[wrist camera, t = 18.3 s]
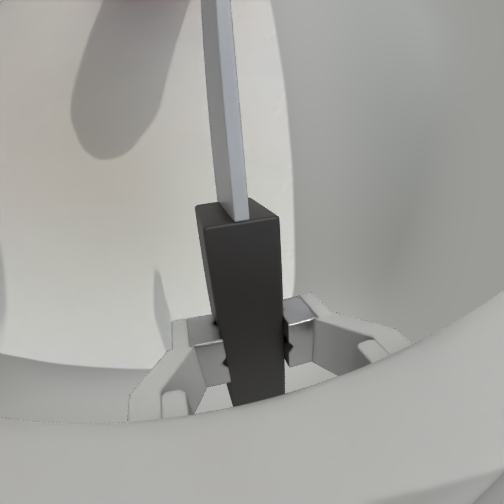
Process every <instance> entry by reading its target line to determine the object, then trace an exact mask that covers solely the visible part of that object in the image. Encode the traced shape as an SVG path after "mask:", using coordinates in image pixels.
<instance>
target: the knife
mask: <svg viewBox="0 0 504 504" xmlns="http://www.w3.org/2000/svg"><path fill="white" fill-rule="evenodd" d="M201 13H202V31H203V47H204V61H205V75H206V88H207V100H208V112H209V123H210V134H211V144H212V154H213V164H214V174H215V183H216V192H217V201H218V202H215V203H208V204H201V205H197V206H195V211H196V219H197V226H198V233H199V239H200V246H201V253H202V259H203V265H204V271H205V277H206V283H207V289H208V295H209V301H210V306H211V312H212V314H214V315H215V318H216V323H217V326H218V329H219V330H220V332H221V336H222V340H223V344H224V349H225V354H226V361H227V365H228V369H229V374H230V379H231V382H229V383H227V386H228V390H229V394H230V397H231V401H232V404H233V407H235V406H240V405H244V404H249V403H253V402H257V401H261V400H265V399H268V398H272V397H276V396H279V395H283V394H285V369H284V333H283V290H282V264H281V243H280V223H279V217H278V216H277V215H275V214H274V213H272V212H271V211H269V210H268V209H266V208H265V207H263V206H262V205H260V204H259V203H257V202H256V201H254V200H253V199H251V198H248V195H247V184H246V172H245V161H244V149H243V138H242V126H241V115H240V103H239V92H238V80H237V69H236V57H235V46H234V35H233V23H232V12H231V0H201Z"/></svg>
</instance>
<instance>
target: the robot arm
mask: <svg viewBox="0 0 504 504" xmlns="http://www.w3.org/2000/svg"><path fill="white" fill-rule="evenodd" d="M171 328H172V350H168V351H167V352H166V353H165V355H164V356H163V357H162V358H161V359H160V360H159V361H158V363H157V364H156V365H155V366H154V367H153V368H152V369H151V371H150V372H149V373H148V374H147V375H146V376H145V377H144V379H143V380H142V381H141V382H140V383H139V384H138V385H137V387H136V388H135V389H134V390H133V391H132V392H131V393H130V395H129V404H128V417H127V422H121V423H120V422H118V423H54V422H52V423H51V422H38V421H28V420H19V419H11V418H4V417H0V504H504V290H503V291H502V292H500V293H499V294H497V295H496V296H494V297H493V298H492V299H490V300H489V301H487V302H486V303H484V304H483V305H481V306H480V307H478V308H477V309H475V310H473V311H472V312H470V313H468V314H467V315H465V316H463V317H462V318H460V319H459V320H457V321H455V322H453V323H452V324H450V325H448V326H446V327H445V328H443V329H441V330H439V331H437V332H436V333H434V334H432V335H430V336H428V337H426V338H425V339H422V340H421V341H419V342H417V343H415V344H412V343H411V342H409V341H408V340H407V339H406V338H405V337H404V336H403V335H401V334H400V333H399V332H398V331H397V330H396V329H395V328H391V327H387V326H384V325H380V324H376V323H373V322H369V321H365V320H362V319H358V318H354V317H351V316H347V315H344V314H340V313H337V312H336V313H332V312H331V311H330V310H329V309H328V308H327V307H326V306H325V305H324V304H323V303H322V302H321V301H320V300H319V299H318V298H317V297H316V296H315V295H314V293H312V292H310V293H306V294H302V295H299V296H295V297H291V298H288V299H284V300H283V333H284V359H285V360H286V362H287V364H288V366H289V367H293V366H297V365H300V364H304V363H308V362H311V361H313V362H314V363H315V364H317V365H319V366H321V367H323V368H324V369H326V370H328V371H330V372H332V373H334V374H336V375H338V377H335V378H332V379H329V380H327V381H324V382H321V383H318V384H315V385H312V386H309V387H306V388H303V389H300V390H297V391H293V392H290V393H286V394H283V395H279V396H276V397H272V398H268V399H265V400H261V401H257V402H253V403H249V404H244V405H240V406H235V407H231V408H226V409H221V410H216V411H211V412H205V413H199V414H194V413H195V411H196V409H197V407H198V405H199V403H200V401H201V399H202V397H203V395H204V393H205V391H206V387H211V386H215V385H220V384H224V383H229V382H231V379H230V374H229V369H228V365H227V361H226V354H225V349H224V344H223V340H222V336H221V332H220V330H219V329H218V326H217V323H216V318H215V315H214V314H211V315H205V316H199V317H193V318H187V319H180V320H175V321H172V323H171Z"/></svg>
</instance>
